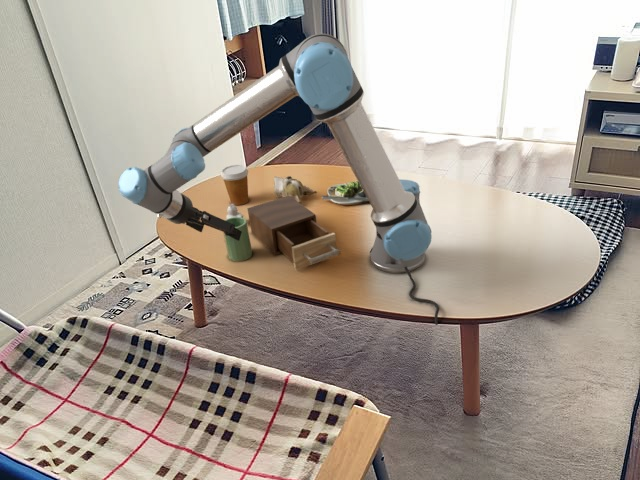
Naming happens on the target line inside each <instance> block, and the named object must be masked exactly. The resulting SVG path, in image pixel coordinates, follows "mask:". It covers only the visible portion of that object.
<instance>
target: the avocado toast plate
mask: <svg viewBox="0 0 640 480" xmlns="http://www.w3.org/2000/svg"><path fill="white" fill-rule="evenodd" d="M326 192H327V195H322V196H321V199H322V200H325V201H329V202H331V203H335V204H338V205H342V206H343V205H344V206H353V205H363V204H368V203H370V202H369V200H368V198H367V197H366V195H365V193H364V191H363V189H362V187H361V186H360V184H359V182H358V180H354V181H350V182H345V183H338V184H333V185H331V186H329V187H328V188H327V190H326Z"/></svg>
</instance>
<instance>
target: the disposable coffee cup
mask: <svg viewBox="0 0 640 480" xmlns="http://www.w3.org/2000/svg"><path fill="white" fill-rule="evenodd" d="M248 174H249V169H248V168H247V167H246V166H245V165H243V164H232V165H228V166H226V167H223V168H222V169H221V174H220V176H221V178H222V179H223V182H224V185H225V189H226V192H227V195H228V198H229V202H230V203H231V204H234V205H235V206H242V205H245V204H247V203H248V202H249V184H248V183H249V182H248V181H249V180H248V176H249V175H248Z"/></svg>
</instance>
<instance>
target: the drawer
mask: <svg viewBox="0 0 640 480" xmlns="http://www.w3.org/2000/svg"><path fill="white" fill-rule="evenodd" d="M275 237H276V244H277V249H278V250H279V251H281V252H282V253H281V254H283V255H284V256H285V258H287V259H288V260H289V261H291V263H292V264H293V267H294V269H295V271H296V270H300V269H302V268H305V267H308V266H311V265H314V264H317V263H320V262H322V261H325V260H327V259H331V258H334V257H336V256H339V255H341V250H340V249H339V248H338V247H337V246H338V245H337V236H336V233H335V232H331V233H329V231H328V230H326V229H325V228H324V227H323V226H321V225H319V224H318V223H317V221H316V222H314V221H313V220H312V219H309V220H306V221H303V222H300V223H297V224H294V225H291V226H288V227H285V228H282V229H279V230H276V231H275Z"/></svg>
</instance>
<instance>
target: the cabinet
mask: <svg viewBox="0 0 640 480" xmlns="http://www.w3.org/2000/svg"><path fill="white" fill-rule="evenodd" d="M246 210H247V213H248V215H247V216H248V220H249V224H250V231H251V234H252V235H253V236H254V237H255V238H256V239H257V240H258V241H259V242H261V244H262V245H264V246H265V247H266V248H267V249H268V250H269V251H270V252H271V253H272V254H273V255H274V256H278V255H281V254H283V253H282V252H281V251H279V250H278V249H277V244H276V237H275V231H276V230H279V229H282V228H285V227H288V226H291V225H294V224H297V223H300V222H303V221H306V220H309V219H312V220H313V221H314V222H316V223H317V215H316V213H314V212H313V211H311V210H310V209H309V208H307V207H306V206H304V205H303V204H302V203H299V202H298V201H296V200H295V199H293V198H292V197H291V196H289V195H288V196H285V197H281V198H276V199H272V200H270V201H267V202H263V203H260V204H256V205H253V206H250V207H247V209H246Z"/></svg>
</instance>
